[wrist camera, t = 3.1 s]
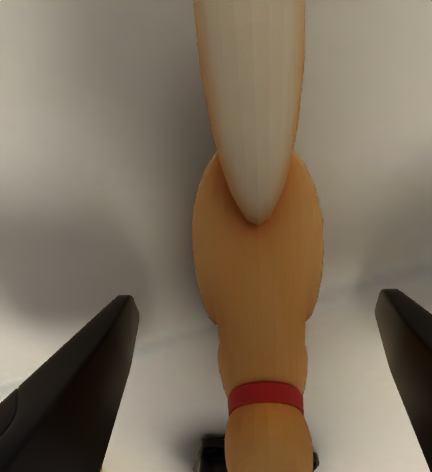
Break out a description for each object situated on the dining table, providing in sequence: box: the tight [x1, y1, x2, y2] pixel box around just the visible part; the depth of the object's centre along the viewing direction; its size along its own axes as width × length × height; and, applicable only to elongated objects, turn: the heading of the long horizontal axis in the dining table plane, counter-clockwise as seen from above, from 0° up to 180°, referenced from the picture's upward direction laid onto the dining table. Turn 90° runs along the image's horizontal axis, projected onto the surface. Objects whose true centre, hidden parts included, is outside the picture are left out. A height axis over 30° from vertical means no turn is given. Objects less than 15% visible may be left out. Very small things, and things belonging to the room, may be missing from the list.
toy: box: [192, 0, 323, 472], centre depth 8 cm, size 3×17×5 cm, turn 6°
